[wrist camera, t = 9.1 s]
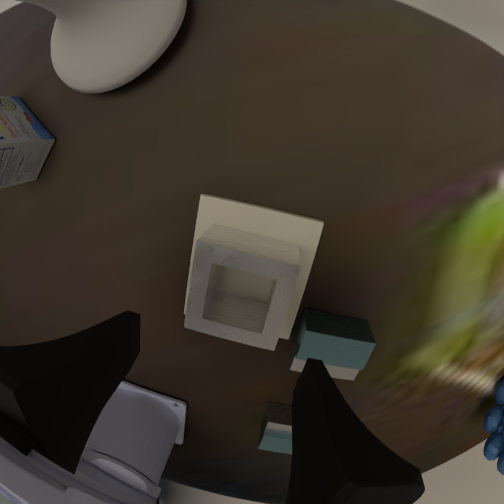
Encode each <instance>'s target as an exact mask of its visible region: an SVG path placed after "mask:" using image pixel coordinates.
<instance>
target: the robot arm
mask: <svg viewBox="0 0 504 504" xmlns="http://www.w3.org/2000/svg"><path fill="white" fill-rule="evenodd" d="M139 352H140V314H137V313H134V312H131V311H125V312H123V313H121V314H119V315H116V316H114V317H112V318H110V319H108V320H106V321H104V322H101V323H99V324H97V325H95V326H93V327H90V328H88V329H85V330H83V331H80V332H77V333H75V334H72V335H69V336H66V337H63V338H59V339H56V340H52V341H47V342H42V343H37V344H31V345H22V346H0V493H2V494H3V495H4V496H5V497H6V498H8V499H9V500H10V501H11V502H13V503H14V504H165V501H164V499H163V498H161V497H158V496H159V494H160V491H161V488H159V487H157V485H158V483H159V480H160V478H161V475H162V473H163V470H164V467H165V465H166V462H167V460H168V457H169V455H170V452H171V450H172V447H173V445H174V443H177V444H182V443H183V440H184V429H185V418H186V408H187V404H186V403H185V402H183V401H180V400H177V399H174V398H171V397H168V396H165V395H162V394H159V393H156V392H153V391H150V390H147V389H145V388H142V387H139V386H136V385H134V384H131V383H129V382H126V381H124V380H123V379H124V378H125V376H126V375H127V374H128V372H129V371H130V369H131V368H132V366H133V364H134V362H135V360H136V358H137V356H138V354H139ZM291 417H292V465H291V474H290V482H289V488H288V495H287V501H286V504H413V503H414V502H415V501H417V500H418V499H419V498H420V497H421V496H422V494H423V493H424V491H425V487H424V483H423V479H422V475H421V472H420V469H419V468H417V467H415V466H414V465H412V464H410V463H409V462H407V461H406V460H404V459H402V458H401V457H399V456H398V455H397V454H395V453H394V452H393V451H391V450H390V449H389V448H388V447H386V446H385V445H384V444H383V443H382V442H381V441H380V440H379V439H378V438H376V437H375V436H374V435H373V434H372V433H371V432H370V431H369V430H368V429H367V428H366V426H365V425H364V424H363V423H362V422H361V421H360V419H359V418H358V417H357V416H356V415H355V413H354V412H353V411H352V409H351V408H350V406H349V405H348V404H347V402H346V401H345V399H344V398H343V396H342V394H341V393H340V391H339V390H338V388H337V386H336V385H335V383H334V381H333V379H332V378H331V376H330V374H329V372H328V370H327V368H326V367H325V365H324V363H323V361H322V360H319V359H313V358H307V361H306V363H305V365H304V368H303V370H302V373H301V375H300V377H299V380H298V382H297V385H296V387H295V389H294V393H293V401H292V411H291Z"/></svg>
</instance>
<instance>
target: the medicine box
mask: <svg viewBox="0 0 504 504" xmlns="http://www.w3.org/2000/svg"><path fill="white" fill-rule="evenodd" d="M54 142H55V139H54V138H53V137H52V135H51V134H50V133H49V132H48V131H47V130H46V129H45V128H44V127H43V125H42V124H41V123H40V122H39V121H38V120H37V118H36V117H35V116H34V115H33V114H32V112H31V111H30V110H29V109H28V108H27V106H26V105H25V104H24V103H23V102H22V100H21V99H20V98H19V97H4V96H0V189H2V188H6V187H9V186H13V185H17V184H21V183H25V182H30V181H34V180H36V179H37V177H38V175H39V173H40V171H41V168H42V166H43V164H44V162H45V160H46V158H47V156H48V153H49V151H50V149H51V147H52V146H53V144H54Z"/></svg>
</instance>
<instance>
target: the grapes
mask: <svg viewBox="0 0 504 504" xmlns="http://www.w3.org/2000/svg"><path fill="white" fill-rule="evenodd" d="M495 400H496V403H497V404H498V405H494V406H493V407H492V408H490V409H489V410H488V412H487V413H486V415H485V418H484V423H483V425H484V430H485V431H486V432H487V433H488V434H491V435H490V436H489V438H488V439H487V441H486V442H485V446H484V456H485V457H486V458H487V459H488V460H495V459H496V458H498V457H499V458H498V462H497V470H498V471H499V472H500V473H501V474H502V475H504V379H503V380H501V381H500V383H499V384H498V386H497V388H496V391H495Z"/></svg>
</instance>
